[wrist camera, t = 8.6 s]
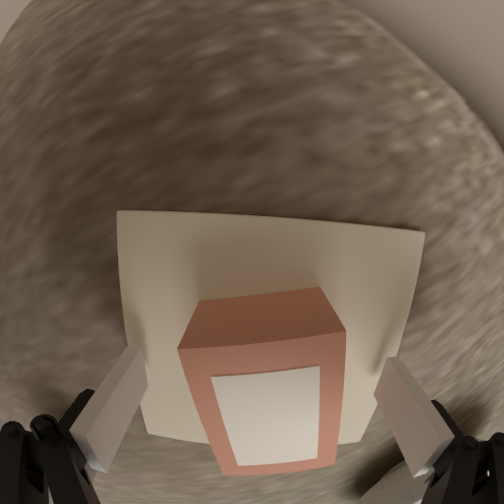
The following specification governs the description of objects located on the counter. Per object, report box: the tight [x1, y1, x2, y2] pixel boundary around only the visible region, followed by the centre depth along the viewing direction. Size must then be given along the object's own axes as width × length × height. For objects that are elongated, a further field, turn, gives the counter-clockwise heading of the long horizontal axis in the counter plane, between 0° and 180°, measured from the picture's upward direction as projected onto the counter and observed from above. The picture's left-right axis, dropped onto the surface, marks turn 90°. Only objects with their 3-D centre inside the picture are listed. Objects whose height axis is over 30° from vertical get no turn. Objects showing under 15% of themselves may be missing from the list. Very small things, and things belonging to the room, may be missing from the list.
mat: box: [117, 210, 425, 444], centre depth 15 cm, size 16×16×1 cm
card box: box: [177, 287, 346, 476], centre depth 12 cm, size 9×6×5 cm, turn 7°
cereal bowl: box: [357, 438, 489, 504], centre depth 16 cm, size 17×17×7 cm
